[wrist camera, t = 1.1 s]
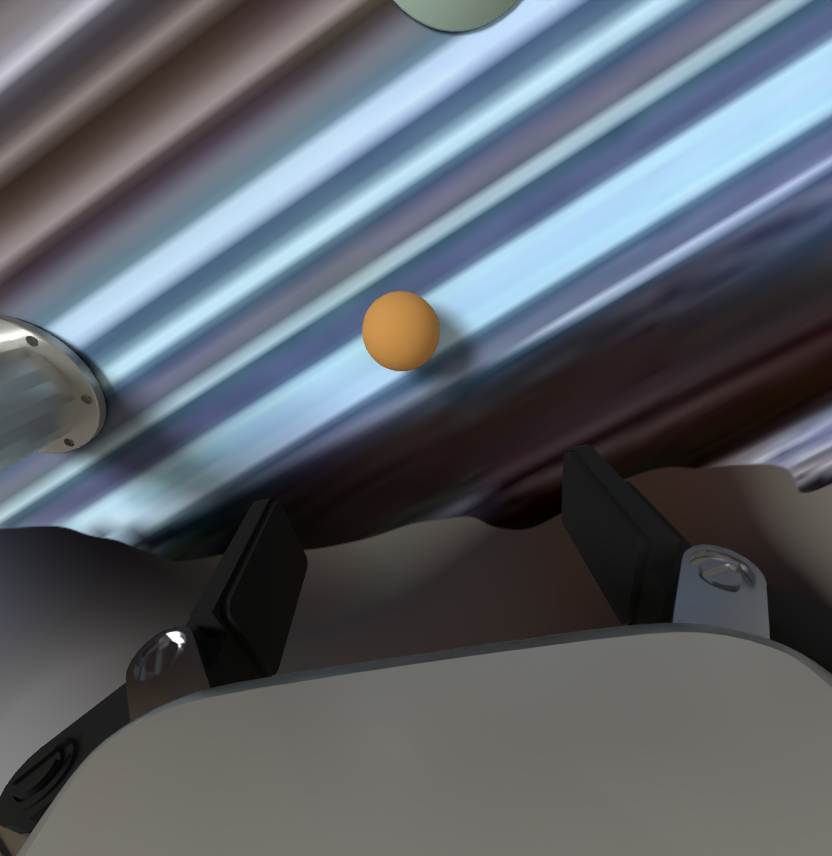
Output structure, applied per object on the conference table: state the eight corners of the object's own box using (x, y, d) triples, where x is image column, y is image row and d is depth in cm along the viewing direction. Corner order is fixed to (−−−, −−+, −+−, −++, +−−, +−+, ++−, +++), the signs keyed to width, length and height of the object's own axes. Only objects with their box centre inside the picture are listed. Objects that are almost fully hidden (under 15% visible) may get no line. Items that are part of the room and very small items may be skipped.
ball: (362, 353, 31) (355, 376, 26) (368, 281, 28) (361, 290, 23) (429, 362, 31) (435, 386, 26) (441, 292, 29) (451, 304, 23)
